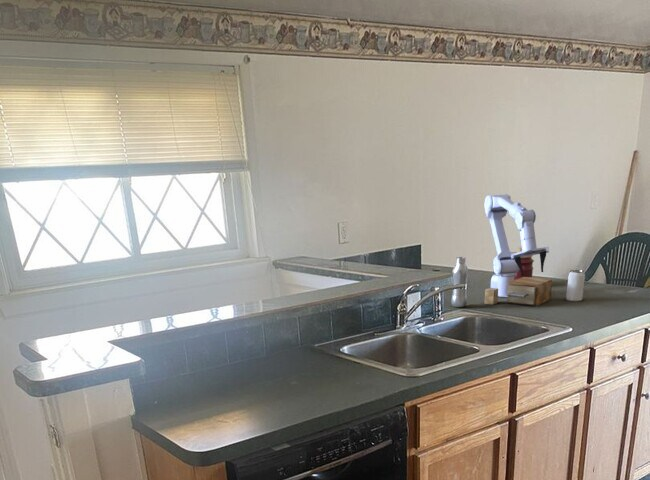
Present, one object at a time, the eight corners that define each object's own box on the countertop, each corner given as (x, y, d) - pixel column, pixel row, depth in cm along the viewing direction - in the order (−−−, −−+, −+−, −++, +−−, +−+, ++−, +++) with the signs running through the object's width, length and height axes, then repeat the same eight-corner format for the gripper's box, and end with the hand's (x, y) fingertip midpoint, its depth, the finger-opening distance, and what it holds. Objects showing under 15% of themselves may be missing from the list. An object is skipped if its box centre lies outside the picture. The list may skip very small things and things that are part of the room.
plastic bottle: (468, 305, 273) (470, 256, 265) (464, 309, 267) (466, 259, 259) (453, 304, 275) (455, 256, 268) (449, 308, 270) (450, 258, 262)
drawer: (528, 306, 263) (530, 289, 260) (502, 303, 270) (503, 287, 267) (546, 298, 275) (548, 282, 273) (520, 295, 282) (522, 280, 280)
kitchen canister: (502, 288, 303) (505, 249, 296) (503, 283, 314) (506, 245, 307) (531, 289, 299) (535, 249, 292) (532, 284, 310) (535, 245, 303)
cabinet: (536, 306, 267) (538, 284, 264) (507, 302, 275) (508, 282, 271) (550, 299, 277) (552, 279, 274) (522, 296, 285) (523, 276, 282)
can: (579, 298, 277) (583, 269, 273) (584, 301, 271) (587, 272, 267) (564, 298, 278) (567, 270, 273) (567, 301, 272) (571, 272, 267)
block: (484, 303, 275) (485, 289, 273) (488, 301, 278) (489, 287, 276) (493, 304, 273) (494, 290, 271) (497, 302, 276) (498, 288, 273)
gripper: (509, 241, 263) (513, 275, 263) (546, 233, 258) (551, 267, 258) (510, 245, 269) (514, 278, 269) (547, 238, 264) (551, 271, 264)
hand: (532, 273), depth 264 cm, fingers open, 7 cm apart
